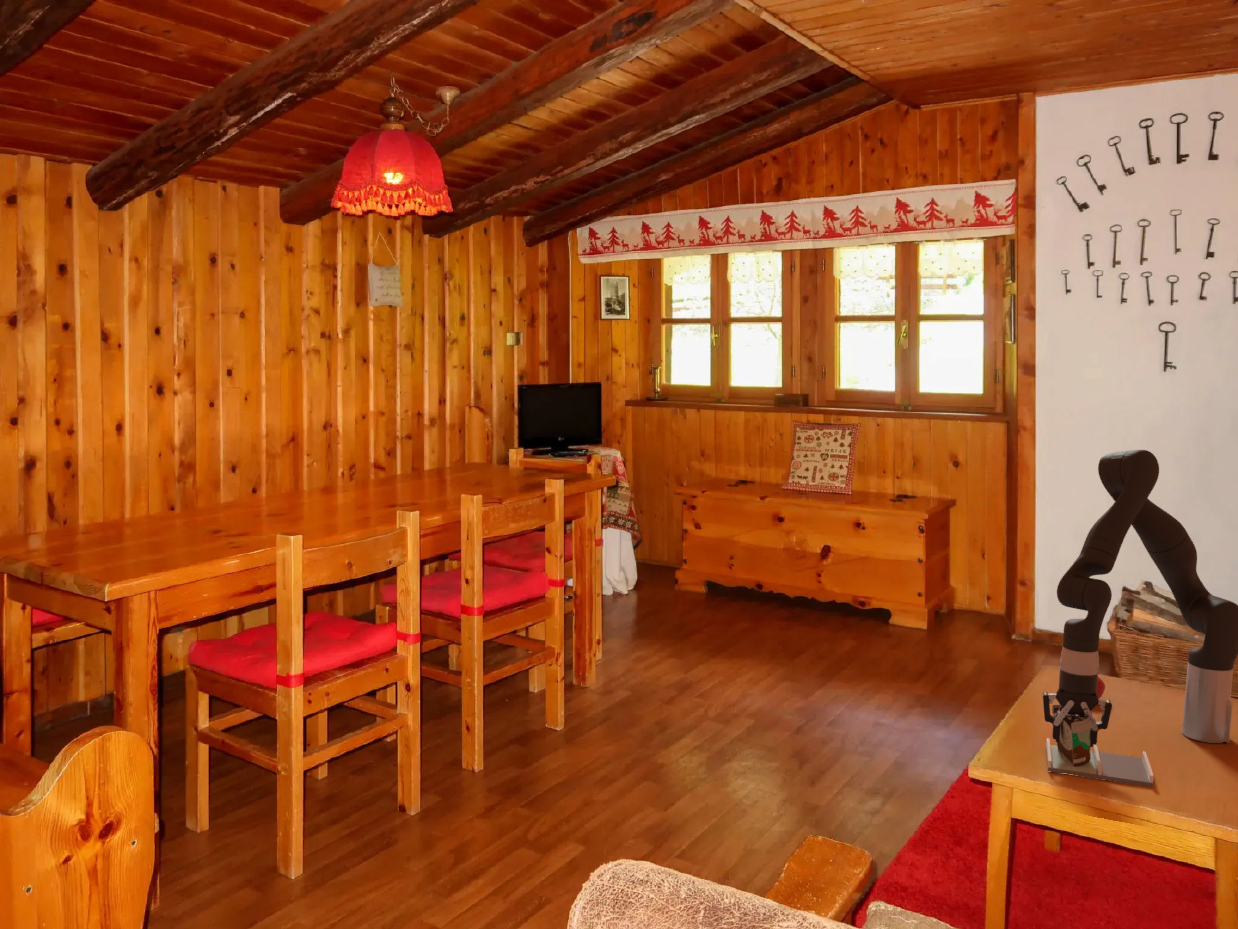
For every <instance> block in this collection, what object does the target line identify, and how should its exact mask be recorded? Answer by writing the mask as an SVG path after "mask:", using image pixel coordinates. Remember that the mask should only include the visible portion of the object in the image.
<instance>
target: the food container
mask: <svg viewBox="0 0 1238 929" xmlns="http://www.w3.org/2000/svg"><path fill="white" fill-rule="evenodd" d="M1051 706H1052V707H1051V708H1052V709H1051V712H1052V714H1053V715H1052V716H1055V715H1056V713H1057V712H1058V710H1059V708H1060V707H1061V705H1060V704H1052V705H1051ZM1092 727H1093V721H1092V719H1090V716H1089V717H1088V718H1087V717H1086V715H1084V716H1079V715H1077V714H1075V715H1070V714H1068V713H1067V715H1066V716H1065V718H1063V720H1062V721H1061V723H1060V740H1059V743H1058V742H1056V746H1057V747H1058V751H1059V752H1060V753H1061V754H1062V755H1063V756H1064V757H1065V758H1066V759H1067V760H1068V761H1069V762H1070V763H1071V765H1072V766H1073V767H1076V766H1081V765H1084V764H1086V763H1088V762H1089V761H1090V750H1091V747H1090V728H1092Z"/></svg>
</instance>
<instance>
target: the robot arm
mask: <svg viewBox="0 0 1238 929" xmlns="http://www.w3.org/2000/svg"><path fill="white" fill-rule="evenodd" d="M1098 461H1099V462H1098V464H1097V465H1098V466H1097V471H1098V475H1099V476H1098V477H1099V478H1100V482H1101V484H1102V485H1103V487H1104V488H1105V490H1106V492H1107V493H1108V495H1109V496H1110V497H1111V498H1112V500H1113V501H1114V503H1113V504H1112V505H1111V506H1110V507H1109V508H1108V509H1107V511H1105V512H1104V513H1103V515H1101V516H1100V517H1099V518H1098V519H1097V520H1096V521H1095V523H1094V524H1093V525H1092V527H1091V528H1090V529H1089V531H1088V533H1087V535H1086V537H1085V540H1084V543H1083V546H1082V548H1081V550H1080V553H1079V555H1078V557H1076V559H1075V561H1074V562H1073V563H1072V565H1071V566H1070V567H1069V568H1068V569H1067V570H1066V572H1065V573H1064V574H1063V576H1061V578H1060V580H1059V582H1058V585H1057V587H1056V597H1057V600H1058V602H1059V603H1060V605H1062V606H1064V607H1067V608H1070V609H1071V608H1072V609H1076V610H1079V611H1087V615H1086V617H1085V618H1070V619H1067V620H1066V621H1065V622H1064V625H1063V636H1062V648H1061V652H1060V662H1059V676H1058V688H1057V689H1058V690H1057V691H1056V692H1055V693H1048V692H1047V691H1044V692H1042V702H1043V715H1044V721H1045V722H1047V723H1050V724H1052V739H1053V740H1055V743H1057V742H1058V743H1059V740H1060V723H1061V721H1062V720H1063V718H1065V716H1066V715H1067V713H1068V714H1070V715H1075V714H1077V715H1079V716H1084V715H1086V717H1087V718H1088V717H1089V716H1090V719H1092V721H1093V727H1092V728H1090V748H1094V745H1097V743H1098V732H1099V731H1100V730H1107V729H1108V726H1109V722H1110V717H1111V714H1112V708H1113V704H1112V701H1111V700H1110V699H1109V698H1108V699H1101V698H1099V699H1098V697H1097V681H1098V677H1099V674H1098V673H1099V670H1100V666H1099V663H1100V657H1099V648H1100V647H1099V646H1100V645H1099V644H1100V634H1101V630H1102V629H1101V628H1102V626H1103V622H1104V619H1105V615H1106V614H1107V611H1108V609H1109V606H1110V605H1111V601H1112V596H1113V594H1112V589H1111V587H1110V585H1109V583H1107V582H1106V581H1105V580H1102V579H1098V578H1093V576H1100V575H1101V576H1102V575H1108V574H1109V573H1111V572H1112V571H1113V568H1114V567H1115V563H1116V561H1117V559H1118V555H1119V553H1120V550H1121V547H1122V545H1123V542H1124V540H1125V538H1126V537H1127V536H1126V535H1127V534H1128V532H1129V530H1130V528H1131V527H1133V529H1134V531H1135V533H1136V534H1137V536H1138V537H1139V538H1140V541H1141V543H1142V544H1143V546H1144V548H1145V550H1146V551H1147V554H1148V555H1149V557H1150V558H1151V559H1152V560H1151V561H1153V563H1154V564H1155V566H1156V567H1157V569H1158V570H1159V573H1160V574H1161V576H1162V577H1163V578H1162V579H1164V582H1165V583H1166V584H1167V585H1168V587H1169V589H1170V591H1171V594H1172V595H1173V597H1174V599H1175V602H1176V604H1177V606H1178V609H1179V611H1180V613H1181V615H1182V617H1183V619H1184V620H1183V621H1185V623H1186V625H1188V627H1189V628H1191V629H1192V630H1194V631H1195V632H1197V633H1200V634H1203V635H1204V640H1203V643H1202V646H1201V647H1195V648H1191V649H1190V650H1189V651H1188V653H1187V654H1188V655H1187V669H1186V680H1185V691H1184V704H1183V716H1182V717H1183V718H1182V723H1181V724H1182V725H1181V727H1182V728H1181V733H1182V734H1183V736H1185V737H1186V738H1189V739H1192V740H1195V741H1198V742H1202V743H1209V744H1224V743H1223V742H1227V743H1226V744H1229V743H1230V737H1231V735H1230V734H1231V728H1232V726H1231V725H1232V715H1233V702H1232V700H1231V698H1232V686H1233V677H1234V676H1233V675H1234V665H1235V662H1236V659H1237V658H1238V604H1237V603H1235V602H1234V601H1232V600H1229V599H1225V598H1222V597H1219V596H1216V595H1213V594H1212V593H1210V592H1209V591H1208V589H1207V588H1206V586H1205V585H1204V584H1203V581H1202V580H1201V579H1200V577H1199V574H1198V572H1197V564H1198V552H1197V548H1196V545H1195V543H1194V542H1193V540H1192V538H1191V537H1190V535H1189V533H1188V531H1187V530H1186V528H1185V527H1184V525H1183V524H1182V523H1181V522H1180V521H1179V520H1178V519H1177V518H1175V517H1174V516H1173V515H1171V514H1170V513H1168V512H1167V511H1166V510H1164V509H1163V508H1161V507H1160V506H1158V505H1156V504H1155V503H1154V502H1153V501H1152V500H1150V499H1149V496H1150V495H1151V493H1152V492H1153V490H1154V488H1155V486H1156V483H1157V481H1158V479H1159V476H1160V466H1159V465H1160V464H1159V462H1158V459H1157V457H1156V456H1155V455H1154V453H1152V452H1151V451H1149V450H1147V449H1132V450H1131V449H1130V450H1123V451H1115V452H1114V451H1113V452H1109V453H1106V454H1104V455H1103V456H1102V457H1101V458H1100V459H1099V460H1098ZM1091 577H1092V578H1091ZM1054 700H1056V701H1057V702H1058V705H1061V707H1060V708H1059V710H1058V712H1057V713H1056V715H1055V716H1054V715H1051V707H1050V705H1051V704H1052V705H1053V703H1054ZM1098 705H1099V707H1100V708H1099V709H1100V710H1101V711H1102V714H1101V718H1100V721H1096V718H1095V716H1094V714H1093V710H1094V709H1095V708H1096V707H1097V706H1098Z"/></svg>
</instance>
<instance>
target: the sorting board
mask: <svg viewBox="0 0 1238 929" xmlns="http://www.w3.org/2000/svg"><path fill="white" fill-rule="evenodd" d="M1045 743H1046V744H1045V755H1046V754H1047V756H1046V765H1047V766H1048V768H1047V772H1048V771H1051V772H1056V773H1055V774H1058V773H1067V774H1073V775H1078V776H1084V777H1083V778H1085V777H1090V778H1089V779H1091V778H1098V779H1105V780H1111V781H1110V782H1112V781H1116V782H1115V783H1118V782H1120V783H1119V784H1127V785H1133V786H1138V785H1140V787H1147V788H1154V779H1155V778H1154V776H1155V775H1154V773H1153V770H1152V766H1151V764H1150V760H1149V758H1148V755H1147V752H1146V751H1145V750H1143V751H1142V754H1141V756H1140V757H1139V756H1132V755H1125V754H1117V753H1110V752H1104V751H1103V752H1102V751H1099V748H1098V745H1097V744H1096V745H1093V750H1091V749H1090V761H1089V762H1088V763H1086V764H1084V765H1081V766H1076V767H1073V766H1072V765H1071V763H1070V762H1069V761H1068V760H1067V759H1066V758H1065V757H1064V756H1063V755H1062V754H1061V753H1060V752H1059V751H1058V747H1057V745H1053V744H1051V740H1050V737H1047V738H1046V742H1045ZM1051 772H1050V773H1051ZM1078 776H1077V777H1078ZM1098 779H1097V780H1098ZM1105 780H1104V781H1105Z"/></svg>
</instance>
